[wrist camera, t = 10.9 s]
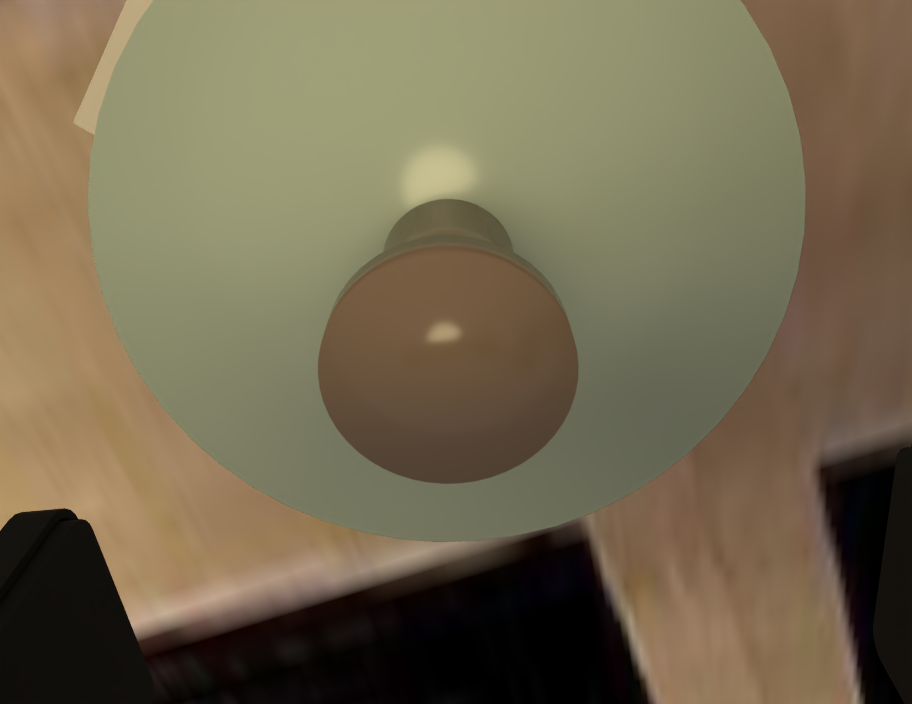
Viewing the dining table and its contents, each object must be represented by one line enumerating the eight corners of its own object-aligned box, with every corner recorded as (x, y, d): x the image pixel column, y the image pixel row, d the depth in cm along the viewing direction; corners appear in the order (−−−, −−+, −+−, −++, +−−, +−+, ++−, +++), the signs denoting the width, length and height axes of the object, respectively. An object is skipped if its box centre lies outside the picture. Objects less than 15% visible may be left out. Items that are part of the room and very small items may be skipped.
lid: (938, 140, 19) (1152, 232, 13) (534, 600, 25) (560, 800, 19) (304, -340, 15) (214, -511, 9) (8, 345, 21) (-159, 501, 15)
